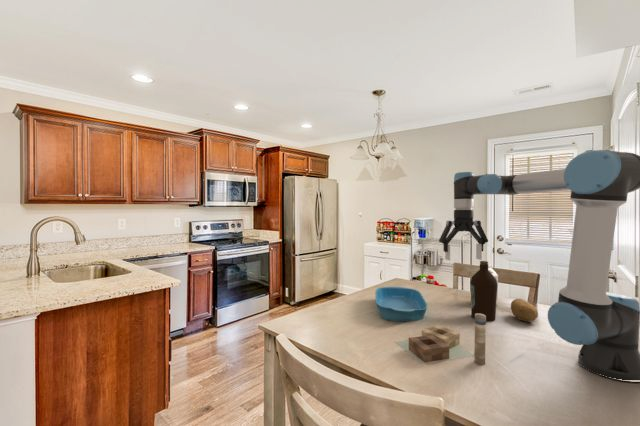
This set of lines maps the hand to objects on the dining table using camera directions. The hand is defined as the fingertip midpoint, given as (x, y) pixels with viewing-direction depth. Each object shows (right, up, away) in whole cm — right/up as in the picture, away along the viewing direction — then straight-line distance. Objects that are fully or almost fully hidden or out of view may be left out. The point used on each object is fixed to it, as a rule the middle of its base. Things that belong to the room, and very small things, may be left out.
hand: (463, 259), depth 132 cm
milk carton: (+23, -26, +25) cm, 43 cm away
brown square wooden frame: (-25, -26, -30) cm, 47 cm away
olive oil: (+11, -27, +6) cm, 30 cm away
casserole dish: (-23, -27, +15) cm, 39 cm away
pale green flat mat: (-22, -28, -26) cm, 44 cm away
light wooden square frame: (-18, -26, -22) cm, 39 cm away
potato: (+28, -27, +3) cm, 39 cm away
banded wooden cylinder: (-11, -28, -36) cm, 47 cm away
